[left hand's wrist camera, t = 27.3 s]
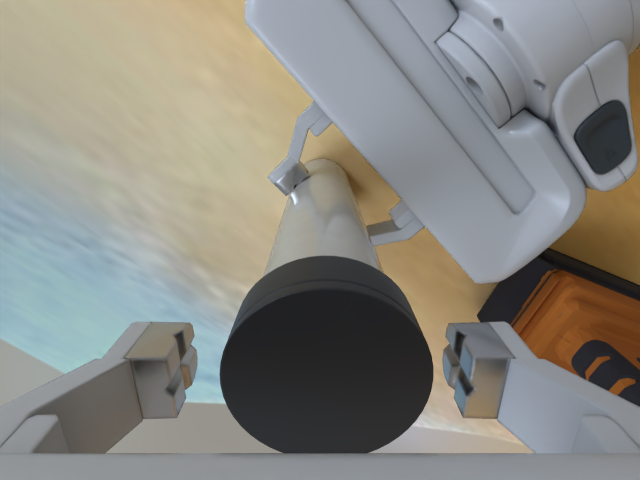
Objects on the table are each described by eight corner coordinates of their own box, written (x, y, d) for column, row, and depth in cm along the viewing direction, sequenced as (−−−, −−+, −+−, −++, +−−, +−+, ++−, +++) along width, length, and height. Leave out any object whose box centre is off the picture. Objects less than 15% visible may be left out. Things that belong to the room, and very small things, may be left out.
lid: (410, 402, 11) (426, 457, 9) (245, 407, 11) (232, 463, 9) (419, 250, 9) (442, 283, 7) (225, 257, 9) (204, 292, 8)
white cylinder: (357, 168, 27) (438, 312, 9) (339, 221, 28) (375, 439, 10) (301, 151, 26) (264, 263, 8) (286, 205, 28) (224, 404, 10)
